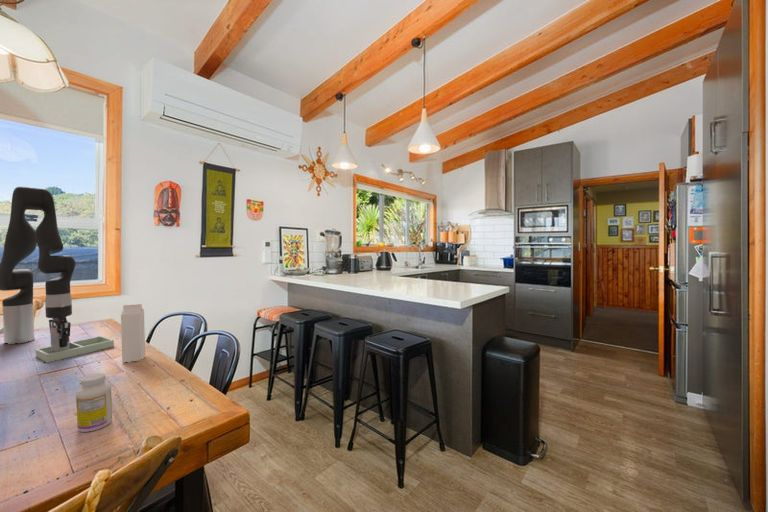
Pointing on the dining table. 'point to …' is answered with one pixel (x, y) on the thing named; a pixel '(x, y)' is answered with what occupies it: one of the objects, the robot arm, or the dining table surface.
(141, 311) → the milk
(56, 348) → the energy drink
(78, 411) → the supplement bottle
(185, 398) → the dining table surface
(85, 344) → the caddy
